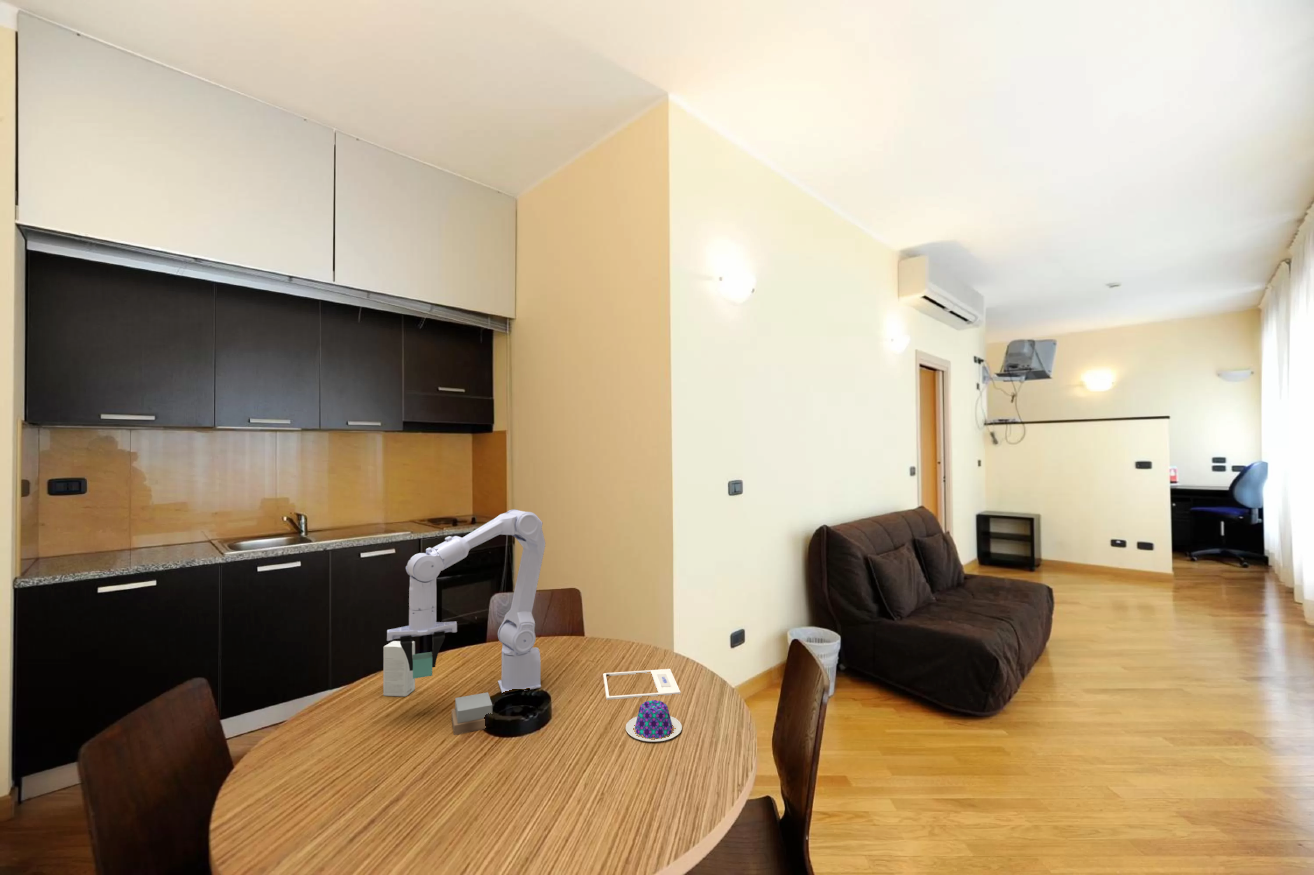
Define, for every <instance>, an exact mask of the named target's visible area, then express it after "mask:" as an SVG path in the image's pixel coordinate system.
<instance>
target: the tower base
mask: <svg viewBox="0 0 1314 875" xmlns="http://www.w3.org/2000/svg"><path fill="white" fill-rule="evenodd" d="M451 723H452V729H453V730H452V731H453V736H456V735H462V734H467V733H473V732H476V731H477V732H478V731H481V730H486V729H485V728H486V726H485V719H484V718H483V719H478V720H473V721H468V722H463V723H458V722H457V716H456V711H455V708H452V709H451Z"/></svg>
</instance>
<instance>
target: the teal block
mask: <svg viewBox="0 0 1314 875" xmlns="http://www.w3.org/2000/svg"><path fill="white" fill-rule="evenodd" d="M432 676H433V667H432V651H430V652H421V653H415V654H413V679H414V678H415V679H420V678H426V677H432Z"/></svg>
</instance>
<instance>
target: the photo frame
mask: <svg viewBox="0 0 1314 875" xmlns="http://www.w3.org/2000/svg"><path fill="white" fill-rule="evenodd" d="M647 672H651V673H650V675H651V674H652V675H651V678H652V677H653V678H652V681H653V680H654V681H653V684H654V686H655V688H657V689H656V692H651V693H650V692H647V693H637V694H635V693H634V694H623V695H622V694H621V695H610V694H609V692H610V691H609V687H608V680H607V676H609V677H610V676H625V675H628V674H629V675H637V674H636V673H645V674H648V673H647ZM672 672H673V671H672V670H671V668H662V669H661V668H660V669H650V670H649V669H647V670H633V671H620V672H619V671H618V672H615V671H614V672H605V673H602V676H603V683H604V690H605V698H606V701H608V700H618V699H619V700H622V699H634V698H633V697H637V698H643V697H642V696H651V697H659V696H658V695H665V696H673V695H672V694H679V695H681V694H680V693H681V690H680V688H679V686H678V683H677V681H676V679H675V676H674V674H673V673H672ZM657 691H658V692H657Z"/></svg>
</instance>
